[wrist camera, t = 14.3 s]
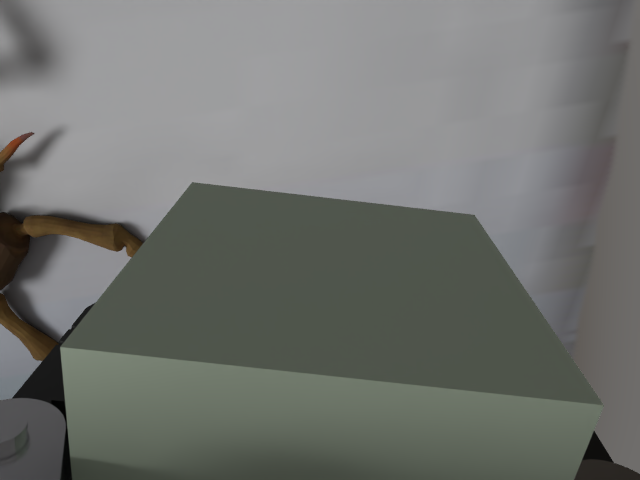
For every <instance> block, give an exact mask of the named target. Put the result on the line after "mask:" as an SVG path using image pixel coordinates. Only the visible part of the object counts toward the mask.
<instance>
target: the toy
mask: <svg viewBox="0 0 640 480" xmlns="http://www.w3.org/2000/svg"><path fill="white" fill-rule="evenodd" d="M33 134H34V133H32V132H31V133H27V134H23V135H21V136H19V137H18V138H16V139H14V140H13V141H11V142H10V143H9V144H8V145H7V146H6V147H5V148H4V149H3V150H2V151H1V152H0V172H2V171H3V170H4V163H5V162H6V161H7V160H8V159H9V158H10V157H11V156H12V155H13V154H14V152H15V151H16V149H17V148H18V147H19V145H20V144H22V143H23V142H24V141H25V140H26V139H27V138H29V137H30V136H32V135H33ZM49 234H60V235H67V236H71V237H75V238H79V239H81V240H84V241H87V242H90V243H92V244H95V245H98V246H101V247H103V248H106V249H109V250H112V251H117V252H118V251H121V250H122V249H123V247H124V246H126V252H127V255H128V256H130V257H133V256H134V254H135V253H136V252H137V251H138V249H139V248H140V247H141V246H142V244H143V242H141V241H140V240H139V239H138V238H136V237H135V236H133V235H131V234H130V233H129V232H128V231H127V230H125V229H124V228H123V227H122V226H121V225H119V224H117V223H115V224H109V225H101V224H88V223H83V222H78V221H73V220H68V219H63V218H58V217H53V216H40V215H34V216H29V217H25V219H24V223H23V224H22V223H21V222H20V221H19V220H18V219H16V218H15V217H14V216H12V215H9V214H7V213H4V212H2V213H0V290H2V289H3V288H4V287H5V286H6V285H7V284H9V283H10V282H11V281H12V280H13V278H14V276H15V273H16V271H17V269H18V266H19V264H20V263H21V262H22V260H23V259H24V258H25V256H26V255H27V253H28V249H29V244H30V235H31V236H32V237H35V238H37V237H41V236H44V235H49ZM0 323H1V324H2V325H3V326H4V327H5V328H7V329H8V330H9V331H10V332H12V333H13V334H14V335H15V336H16V337H18V338H19V339H20V340H21V341H22V343H23V344H24V345H25V346H26V347H27V349H28V350H29V351H30V353H31V355H32V356H33V358H34V359H35V360H40V361H43V360H44V359H45V358H46V356H47V355H48V354H49V353H50V352H51V350H52V349H53V348H54V347H55V345H59V344H58V343H57V342H56V341H55V340H53V339H52V338H50V337H48V336H47V335H45V334H44V333H42V332H40V331H39V330H37V329H35V328H34V327H32V326H30V325H29V324H27V323H26V322H24V321H22V320H21V319H19V318H18V316H17V315H16V314H15V313H14V312H13V311H12V310H11V309H10V307H9V306H8V303H7V301H6V298H5V295H3V294H1V293H0Z"/></svg>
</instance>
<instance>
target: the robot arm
mask: <svg viewBox="0 0 640 480" xmlns="http://www.w3.org/2000/svg"><path fill="white" fill-rule="evenodd" d="M94 304H95V303H94ZM94 304H92V305H91V306H89V307H87V308H86V309H85V310H84V311H83V313H82V314H81V315H80V316H79V317H78V319H77V320H76V321H75V322H74V324H73V325H72V328H71V329H69V330H68V331H67V332H66V333H65V334H64V336H63V337H62V338H61V339H60V341H59V345H55V347H54V348H53V349H52V350H51V352H50V353H49V354H48V355H47V356H46V358H45V359H44V360H43V361H42V362H41V364H40V365H39V366H38V367H37V369H36V370H35V371H34V372H33V373H32V375H31V376H30V377H29V378H28V380H27V381H26V382H25V383H24V384H23V386H22V387H21V388H20V389H19V390H18V392H17V393H16V394H15V395H14V397H13V398H12V399H5V400H0V480H72V472H71V461H70V450H69V439H68V428H67V417H66V406H65V395H64V384H63V373H62V362H61V351H60V347H61V345H62V344H63V343H64V342H65V340H66V339H67V338H68V337H69V335H70V334H71V333H72V332H73V330H74V329H75V328H76V327H77V325H78V324H79V323H80V322H81V320H82V319H83V318H84V317H85V315H86V314H87V313H88V312H89V310H90V309H91V308H92V307H93V305H94ZM574 480H640V474H639V473H637V472H635V471H633V470H631V469H629V468H627V467H624V466H622V465H619V464H616V463H614V462H613V461H612V459H611V457H610V456H609V454H608V453H607V451H606V449H605V448H604V446H603V444H602V443H601V441H600V440H599V438H598V436H597V435H596V433H595V431H594V432H593V434H592V437H591V439H590V441H589V444H588V446H587V449H586V451H585V454H584V456H583V459H582V461H581V464H580V466H579V469H578V471H577V474H576V476H575V479H574Z"/></svg>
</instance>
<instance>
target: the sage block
mask: <svg viewBox="0 0 640 480" xmlns="http://www.w3.org/2000/svg"><path fill="white" fill-rule="evenodd" d="M60 351H61V362H62V373H63V384H64V395H65V406H66V417H67V428H68V439H69V450H70V461H71V472H72V480H574V479H575V476H576V474H577V471H578V469H579V466H580V464H581V461H582V459H583V456H584V454H585V451H586V449H587V446H588V444H589V441H590V439H591V437H592V434H593V432H594V429H595V427H596V424H597V422H598V419H599V417H600V414H601V412H602V409H603V407H604V405H603V403H602V402H601V400H600V399H599V398H598V396H597V394H596V393H595V391H594V390H593V388H592V387H591V385H590V384H589V383H588V381H587V380H586V378H585V377H584V375H583V374H582V372H581V371H580V369H579V368H578V366H577V365H576V363H575V362H574V361H573V359H572V358H571V356H570V355H569V353H568V352H567V350H566V349H565V347H564V346H563V344H562V343H561V341H560V340H559V338H558V337H557V336H556V334H555V333H554V331H553V330H552V328H551V327H550V325H549V324H548V322H547V321H546V319H545V318H544V316H543V315H542V313H541V312H540V311H539V309H538V308H537V306H536V305H535V303H534V302H533V300H532V299H531V297H530V296H529V294H528V293H527V291H526V290H525V289H524V287H523V286H522V284H521V283H520V281H519V280H518V278H517V277H516V275H515V274H514V272H513V271H512V269H511V268H510V266H509V265H508V264H507V262H506V261H505V259H504V258H503V256H502V255H501V253H500V252H499V250H498V249H497V247H496V246H495V244H494V243H493V242H492V240H491V239H490V237H489V236H488V234H487V233H486V231H485V230H484V228H483V227H482V225H481V224H480V222H479V221H478V219H477V218H476V217H475V215H471V214H462V213H453V212H445V211H436V210H427V209H419V208H410V207H401V206H393V205H384V204H375V203H367V202H358V201H349V200H341V199H332V198H323V197H315V196H306V195H297V194H289V193H280V192H271V191H263V190H254V189H245V188H237V187H228V186H219V185H211V184H202V183H194V182H192V183H191V185H190V186H189V187H188V188H187V190H186V191H185V192H184V193H183V195H182V196H181V197H180V198H179V200H178V201H177V202H176V203H175V205H174V206H173V207H172V208H171V210H170V211H169V212H168V213H167V215H166V216H165V217H164V218H163V220H162V221H161V222H160V223H159V225H158V226H157V227H156V228H155V230H154V231H153V232H152V233H151V235H150V236H149V237H148V238H147V239H146V241H145V242H144V243H143V244H142V246H141V247H140V248H139V249H138V251H137V252H136V253H135V254H134V256H133V257H132V258H131V259H130V261H129V262H128V263H127V264H126V266H125V267H124V268H123V269H122V271H121V272H120V273H119V274H118V276H117V277H116V278H115V279H114V281H113V282H112V283H111V284H110V286H109V287H108V288H107V289H106V291H105V292H104V293H103V294H102V296H101V297H100V298H99V299H98V300H97V302H96V303H95V304H94V305H93V307H92V308H91V309H90V310H89V312H88V313H87V314H86V315H85V317H84V318H83V319H82V320H81V322H80V323H79V324H78V325H77V327H76V328H75V329H74V330H73V332H72V333H71V334H70V335H69V337H68V338H67V339H66V340H65V342H64V343H63V344H62V345H61V347H60Z"/></svg>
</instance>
